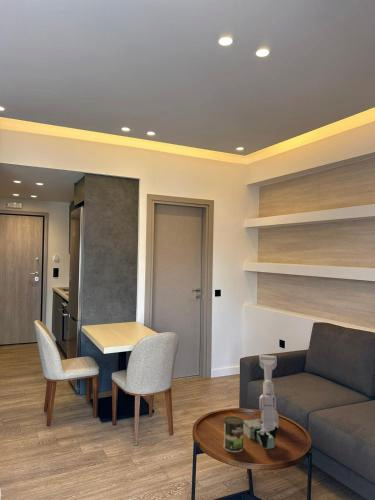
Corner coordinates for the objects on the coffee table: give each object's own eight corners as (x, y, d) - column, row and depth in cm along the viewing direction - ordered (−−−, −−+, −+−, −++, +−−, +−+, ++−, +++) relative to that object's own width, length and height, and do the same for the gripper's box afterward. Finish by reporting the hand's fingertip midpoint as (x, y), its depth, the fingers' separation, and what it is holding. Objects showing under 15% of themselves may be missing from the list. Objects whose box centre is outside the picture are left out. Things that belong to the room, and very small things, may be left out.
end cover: (264, 438, 201) (264, 429, 202) (274, 447, 191) (274, 438, 192) (256, 439, 200) (256, 430, 200) (265, 448, 190) (265, 439, 190)
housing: (259, 429, 214) (259, 418, 214) (267, 437, 204) (268, 425, 204) (242, 431, 211) (242, 420, 211) (249, 439, 201) (249, 427, 202)
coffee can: (247, 450, 189) (247, 422, 189) (229, 454, 184) (230, 425, 185) (236, 441, 198) (237, 415, 199) (219, 445, 194) (220, 417, 195)
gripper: (268, 412, 201) (268, 437, 201) (254, 419, 190) (254, 446, 190) (280, 415, 197) (280, 441, 196) (266, 423, 186) (266, 451, 185)
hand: (268, 444), depth 192 cm, fingers open, 7 cm apart
